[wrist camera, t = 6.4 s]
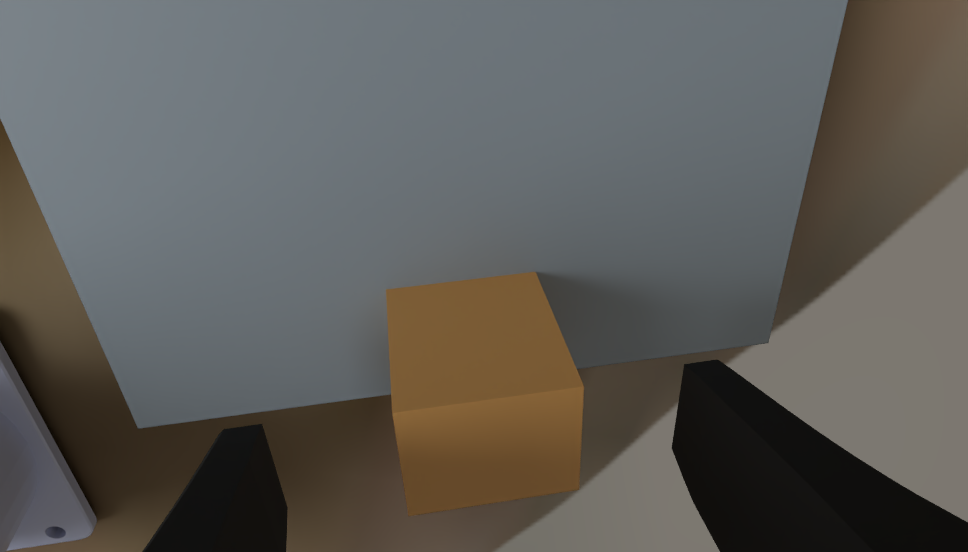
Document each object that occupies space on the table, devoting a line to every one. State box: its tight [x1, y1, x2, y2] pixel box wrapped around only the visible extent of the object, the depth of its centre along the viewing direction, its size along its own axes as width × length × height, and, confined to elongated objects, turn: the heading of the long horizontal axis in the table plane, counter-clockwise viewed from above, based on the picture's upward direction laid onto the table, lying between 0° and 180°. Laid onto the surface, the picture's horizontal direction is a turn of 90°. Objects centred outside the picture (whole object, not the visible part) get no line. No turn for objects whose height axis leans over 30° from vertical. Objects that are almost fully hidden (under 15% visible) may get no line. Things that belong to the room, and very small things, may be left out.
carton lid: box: [0, 0, 848, 516], centre depth 10 cm, size 14×12×4 cm
